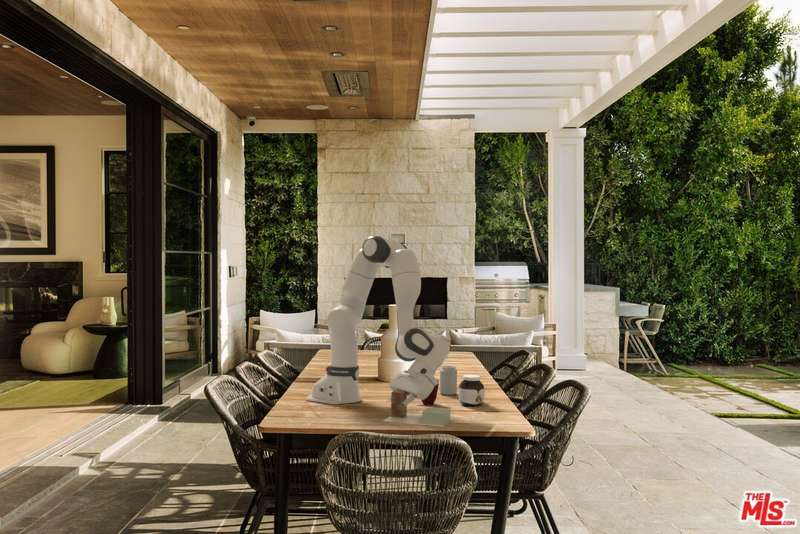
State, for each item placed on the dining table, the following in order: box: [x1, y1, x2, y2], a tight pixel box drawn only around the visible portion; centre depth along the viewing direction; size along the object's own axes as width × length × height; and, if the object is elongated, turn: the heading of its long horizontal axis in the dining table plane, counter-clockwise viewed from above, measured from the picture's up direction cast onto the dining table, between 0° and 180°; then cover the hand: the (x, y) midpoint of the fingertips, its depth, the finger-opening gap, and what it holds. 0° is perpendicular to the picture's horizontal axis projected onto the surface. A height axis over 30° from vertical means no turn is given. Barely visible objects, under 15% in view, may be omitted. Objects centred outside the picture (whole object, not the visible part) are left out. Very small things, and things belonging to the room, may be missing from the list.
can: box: [439, 365, 458, 396], centre depth 296 cm, size 8×8×12 cm
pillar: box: [390, 390, 408, 418], centre depth 248 cm, size 4×4×9 cm
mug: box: [421, 378, 440, 406], centre depth 275 cm, size 10×8×10 cm
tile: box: [382, 412, 454, 428], centre depth 244 cm, size 22×15×1 cm
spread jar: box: [457, 374, 486, 408], centre depth 277 cm, size 12×11×12 cm
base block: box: [421, 407, 451, 426], centre depth 240 cm, size 8×8×4 cm
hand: (397, 403), depth 247 cm, fingers closed on pillar, 6 cm apart
